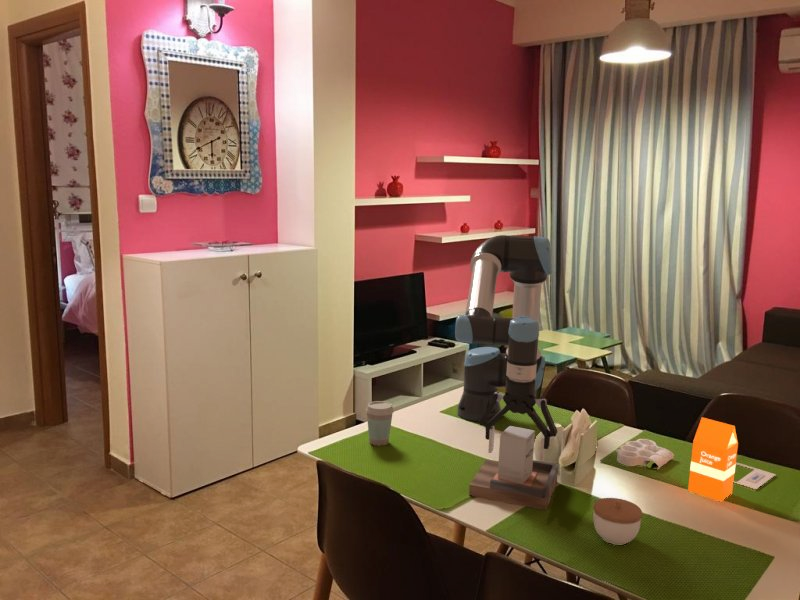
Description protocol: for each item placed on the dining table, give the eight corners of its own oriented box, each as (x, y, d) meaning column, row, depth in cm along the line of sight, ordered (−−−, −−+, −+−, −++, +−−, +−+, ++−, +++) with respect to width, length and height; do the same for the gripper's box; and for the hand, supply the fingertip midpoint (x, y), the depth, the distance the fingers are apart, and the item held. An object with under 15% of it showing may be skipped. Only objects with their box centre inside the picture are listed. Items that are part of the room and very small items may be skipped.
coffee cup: (394, 438, 222) (395, 401, 220) (391, 448, 214) (392, 410, 211) (367, 436, 223) (367, 399, 221) (363, 446, 214) (363, 408, 212)
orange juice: (699, 483, 196) (707, 413, 192) (732, 494, 190) (741, 422, 186) (687, 491, 190) (695, 420, 187) (720, 502, 184) (729, 429, 180)
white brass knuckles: (653, 476, 200) (605, 461, 210) (677, 458, 214) (630, 444, 223) (654, 465, 200) (606, 450, 209) (678, 447, 213) (631, 434, 223)
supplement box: (523, 485, 183) (526, 438, 181) (496, 478, 187) (499, 433, 185) (532, 475, 190) (535, 430, 187) (506, 468, 193) (509, 424, 191)
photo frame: (756, 488, 192) (691, 467, 204) (755, 492, 192) (690, 471, 205) (775, 473, 202) (712, 454, 214) (775, 477, 202) (712, 457, 215)
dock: (485, 469, 201) (486, 452, 200) (557, 481, 194) (558, 464, 193) (468, 495, 184) (469, 477, 183) (546, 510, 177) (547, 491, 176)
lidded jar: (614, 555, 157) (617, 516, 155) (581, 533, 166) (584, 496, 165) (649, 545, 162) (653, 506, 160) (615, 524, 171) (618, 487, 170)
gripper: (470, 375, 184) (466, 452, 188) (568, 388, 176) (562, 468, 180) (477, 368, 191) (473, 442, 195) (571, 380, 183) (565, 457, 187)
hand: (516, 455), depth 188 cm, fingers open, 13 cm apart
